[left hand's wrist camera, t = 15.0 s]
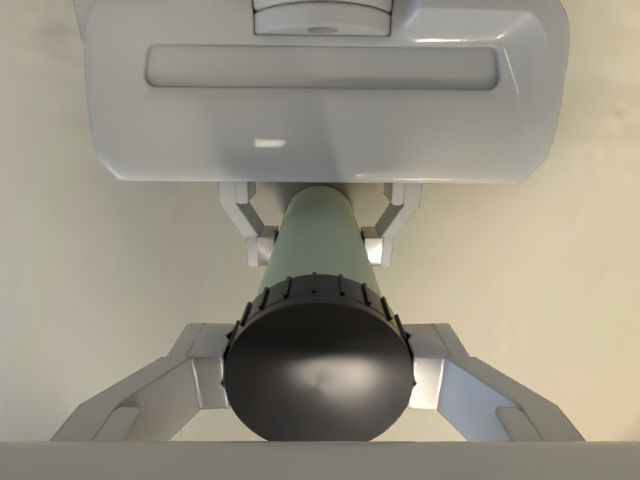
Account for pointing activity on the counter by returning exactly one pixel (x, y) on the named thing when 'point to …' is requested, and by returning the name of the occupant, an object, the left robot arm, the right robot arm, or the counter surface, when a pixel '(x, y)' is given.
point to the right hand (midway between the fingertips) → (320, 262)
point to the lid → (318, 362)
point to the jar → (319, 240)
